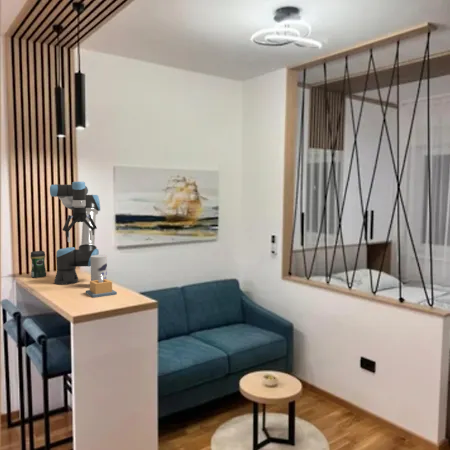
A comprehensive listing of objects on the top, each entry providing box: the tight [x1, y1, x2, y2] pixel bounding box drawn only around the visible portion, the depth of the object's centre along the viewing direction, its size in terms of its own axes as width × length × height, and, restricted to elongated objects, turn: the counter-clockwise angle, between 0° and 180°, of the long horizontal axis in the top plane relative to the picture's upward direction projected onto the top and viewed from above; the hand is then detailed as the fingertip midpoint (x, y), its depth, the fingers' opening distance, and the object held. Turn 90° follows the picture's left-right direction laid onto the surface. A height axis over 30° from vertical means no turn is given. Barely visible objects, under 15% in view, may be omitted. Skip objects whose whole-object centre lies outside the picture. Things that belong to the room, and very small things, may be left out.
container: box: [90, 254, 108, 281], centre depth 275 cm, size 10×10×20 cm
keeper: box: [85, 274, 118, 299], centre depth 256 cm, size 14×14×12 cm
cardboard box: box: [89, 278, 113, 294], centre depth 256 cm, size 10×10×6 cm
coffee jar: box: [30, 250, 47, 278], centre depth 304 cm, size 10×8×19 cm
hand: (80, 241), depth 262 cm, fingers open, 13 cm apart
